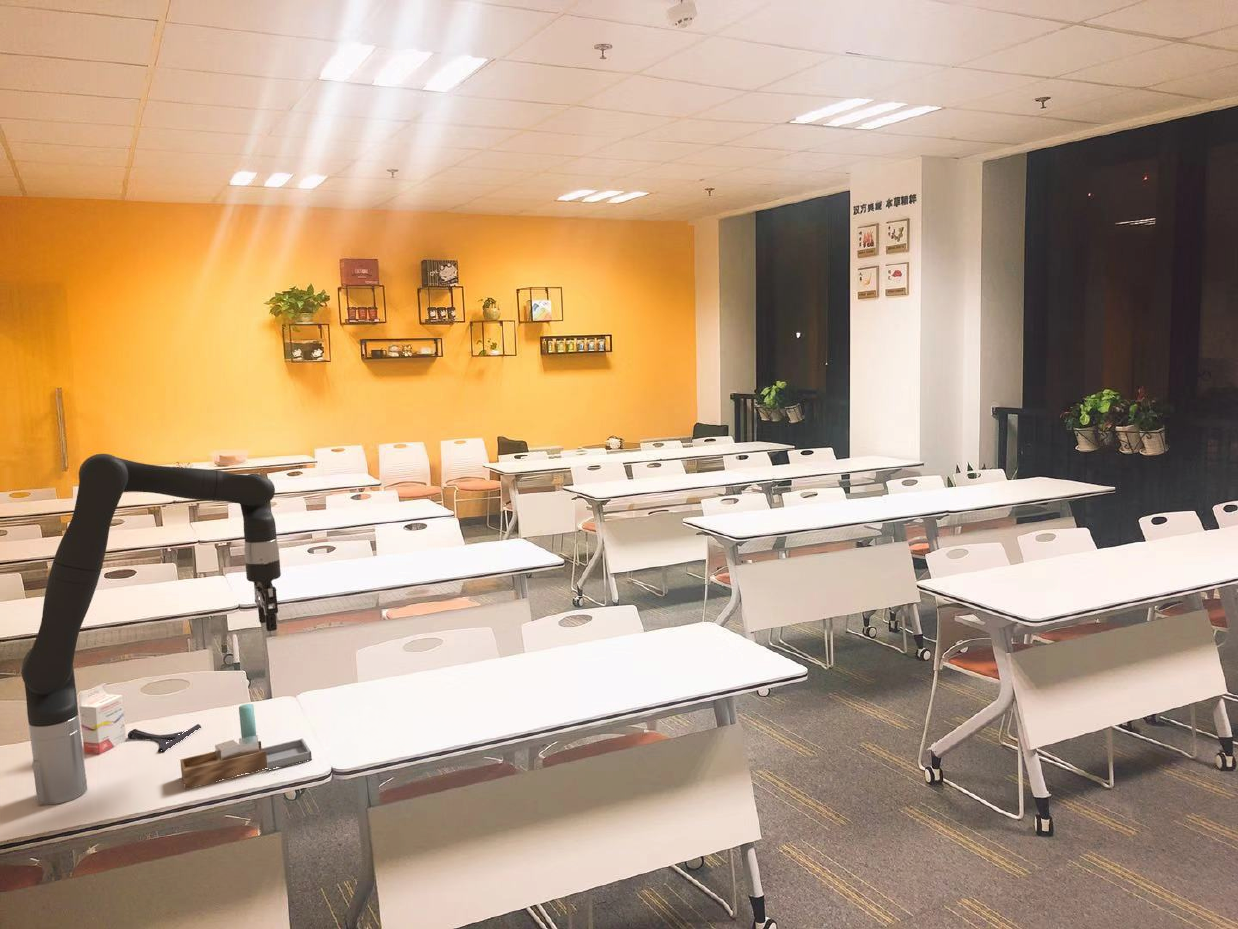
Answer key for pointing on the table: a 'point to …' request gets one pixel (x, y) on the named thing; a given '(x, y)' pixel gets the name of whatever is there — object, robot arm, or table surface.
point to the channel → (219, 767)
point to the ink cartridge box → (101, 720)
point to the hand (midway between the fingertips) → (268, 626)
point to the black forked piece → (162, 737)
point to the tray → (287, 754)
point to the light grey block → (227, 750)
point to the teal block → (247, 720)
